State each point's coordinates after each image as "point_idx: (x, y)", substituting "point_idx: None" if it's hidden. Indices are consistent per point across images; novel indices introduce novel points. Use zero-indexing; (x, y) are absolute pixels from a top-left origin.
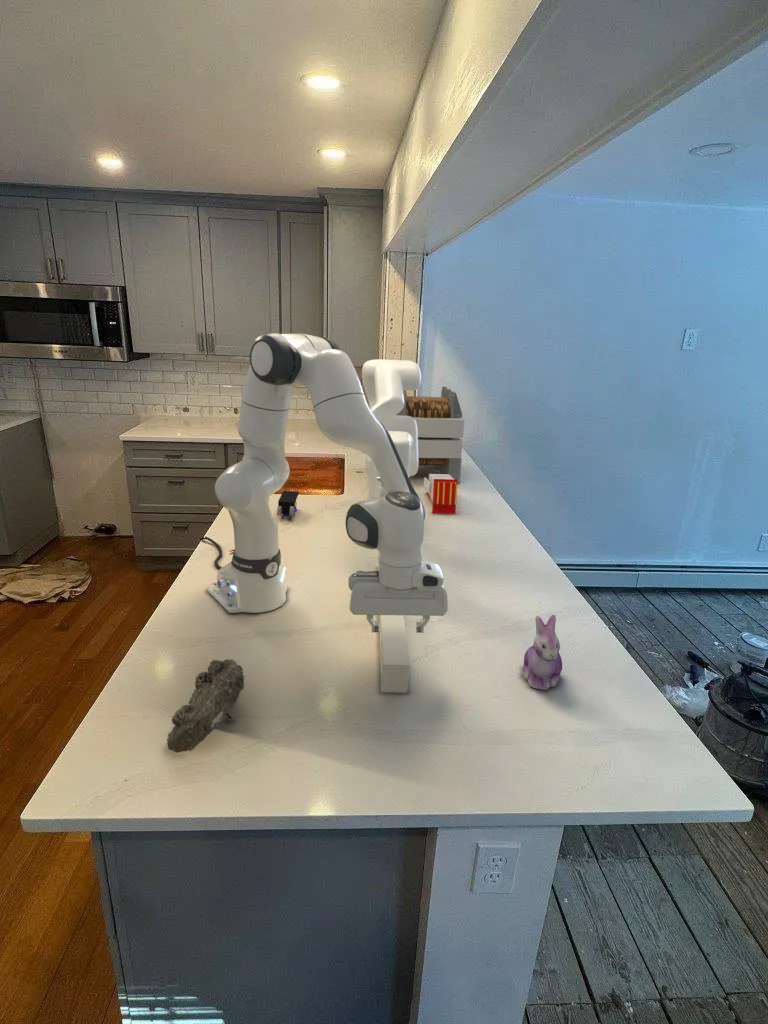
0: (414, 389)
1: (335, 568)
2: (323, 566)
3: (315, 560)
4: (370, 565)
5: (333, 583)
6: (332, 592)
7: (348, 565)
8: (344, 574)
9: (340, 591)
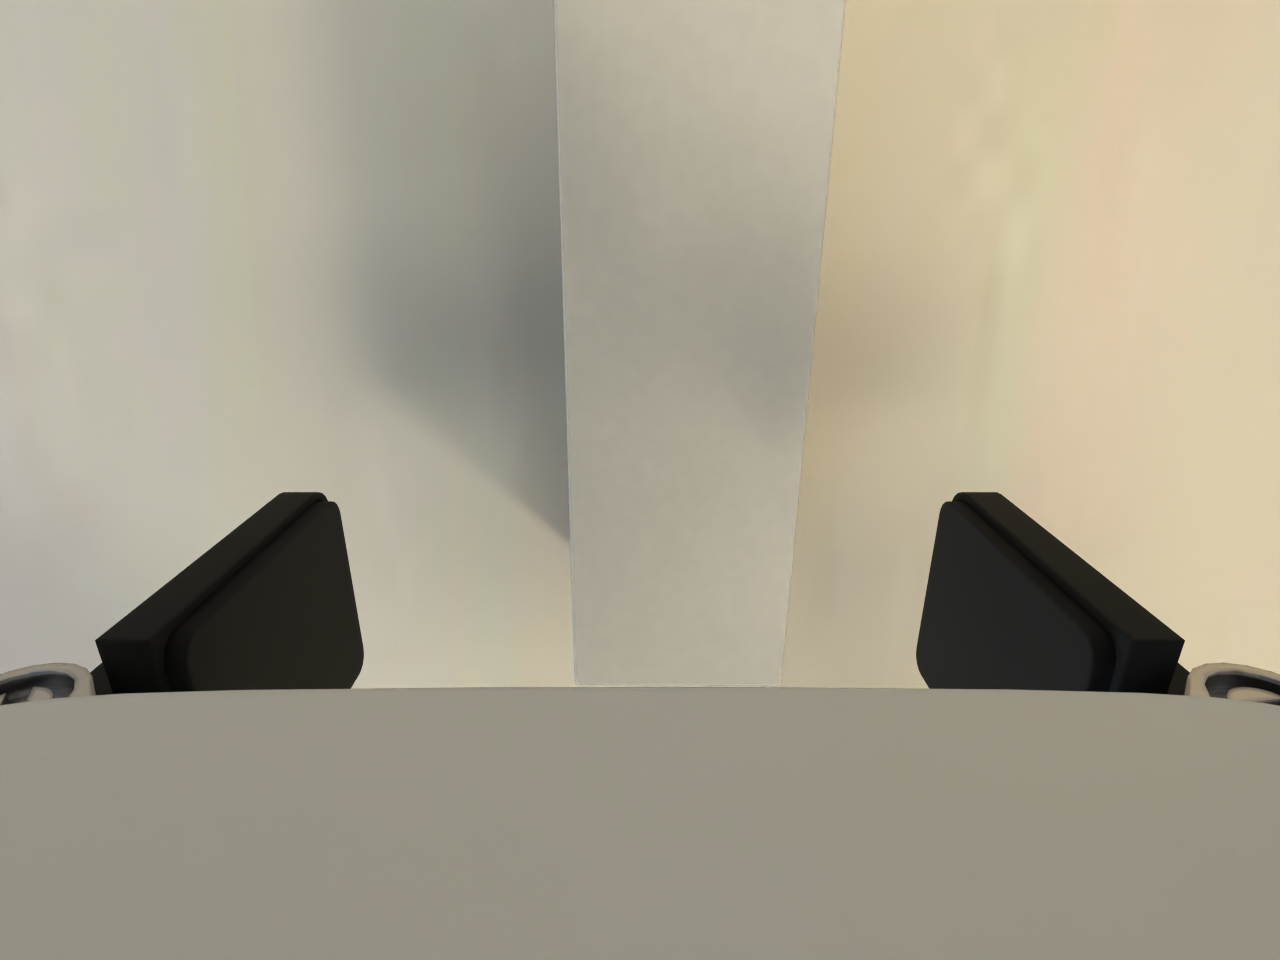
0: None
1: (1119, 527)
2: (1217, 558)
3: (1259, 658)
4: (805, 597)
5: (1202, 222)
6: (1259, 6)
7: None
8: (1060, 417)
9: (1171, 36)
